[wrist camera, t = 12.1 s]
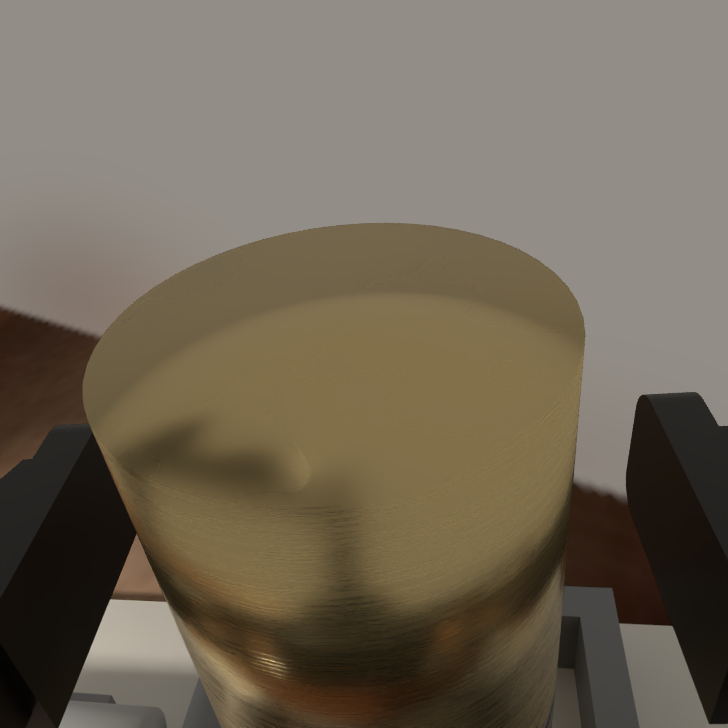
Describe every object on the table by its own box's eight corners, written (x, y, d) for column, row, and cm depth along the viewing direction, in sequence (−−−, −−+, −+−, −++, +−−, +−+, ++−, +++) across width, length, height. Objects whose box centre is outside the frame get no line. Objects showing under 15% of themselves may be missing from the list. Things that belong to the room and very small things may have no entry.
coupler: (262, 976, 12) (-27, 499, 6) (313, 703, 16) (183, 233, 10) (552, 1014, 12) (630, 509, 5) (531, 717, 16) (557, 213, 9)
